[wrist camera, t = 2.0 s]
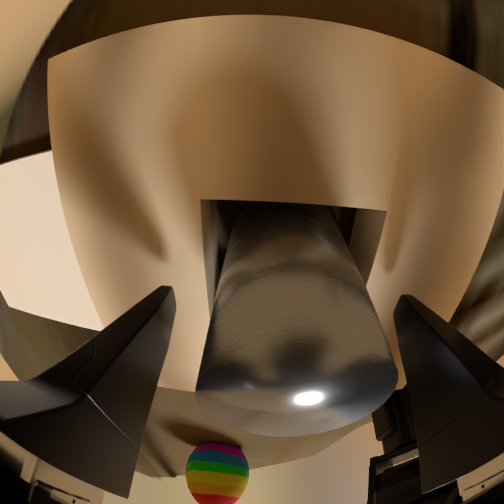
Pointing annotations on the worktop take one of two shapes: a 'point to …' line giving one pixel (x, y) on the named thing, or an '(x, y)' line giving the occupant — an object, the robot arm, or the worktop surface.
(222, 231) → the worktop surface
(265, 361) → the metal part
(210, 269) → the pocket block
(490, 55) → the worktop surface
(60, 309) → the ceramic tile
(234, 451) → the decorative egg
